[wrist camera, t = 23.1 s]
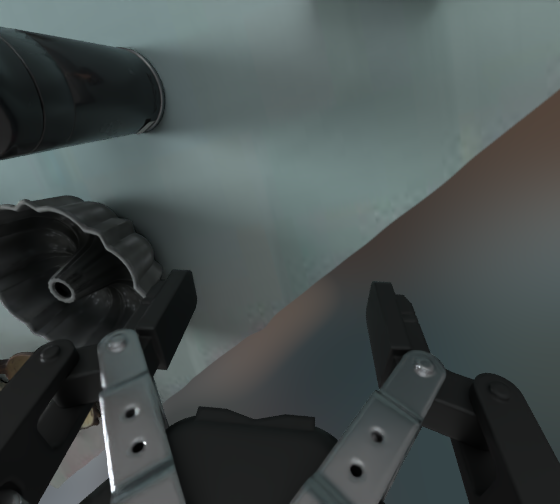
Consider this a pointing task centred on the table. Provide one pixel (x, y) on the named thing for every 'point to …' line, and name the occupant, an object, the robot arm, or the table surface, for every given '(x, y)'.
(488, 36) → the table surface
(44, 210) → the bundt pan
